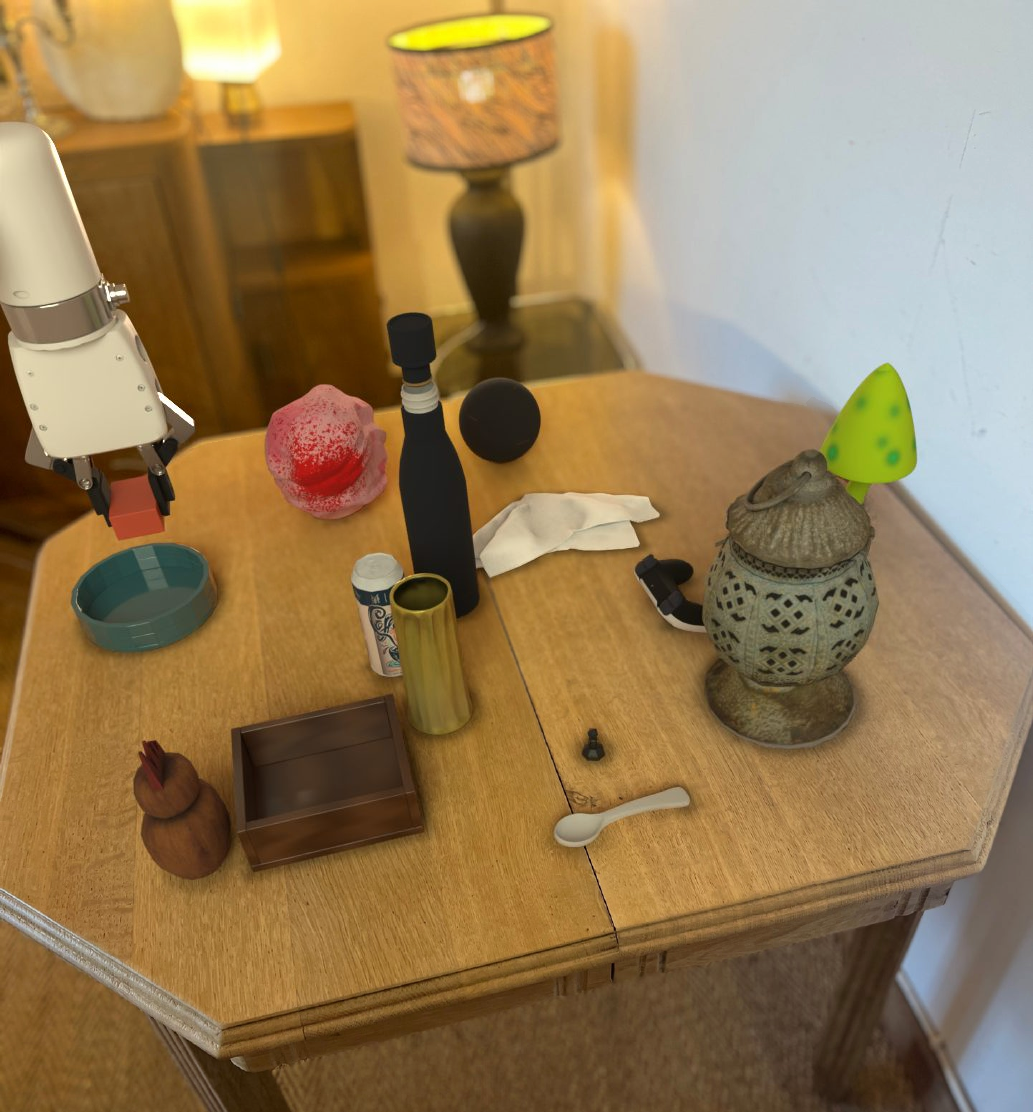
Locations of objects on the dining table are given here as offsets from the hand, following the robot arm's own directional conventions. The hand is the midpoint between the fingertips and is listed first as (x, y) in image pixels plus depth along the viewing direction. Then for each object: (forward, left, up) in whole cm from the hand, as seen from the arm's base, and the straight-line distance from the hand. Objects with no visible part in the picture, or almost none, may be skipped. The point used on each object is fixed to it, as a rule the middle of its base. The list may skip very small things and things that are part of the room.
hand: (139, 511), depth 87 cm
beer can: (+19, -8, -17) cm, 27 cm away
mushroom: (+64, -12, -17) cm, 68 cm away
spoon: (+34, -33, -17) cm, 50 cm away
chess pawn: (+34, -25, -17) cm, 46 cm away
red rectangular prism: (0, 0, -1) cm, 1 cm away
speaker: (+38, +26, -17) cm, 50 cm away
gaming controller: (+48, -9, -17) cm, 52 cm away
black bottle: (+26, 0, -17) cm, 32 cm away
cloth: (+39, +9, -17) cm, 44 cm away
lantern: (+52, -23, -17) cm, 60 cm away
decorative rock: (+17, +22, -17) cm, 33 cm away
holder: (+11, -23, -17) cm, 31 cm away
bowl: (-5, +9, -17) cm, 20 cm away
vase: (+22, -16, -17) cm, 32 cm away
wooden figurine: (0, -26, -17) cm, 32 cm away
